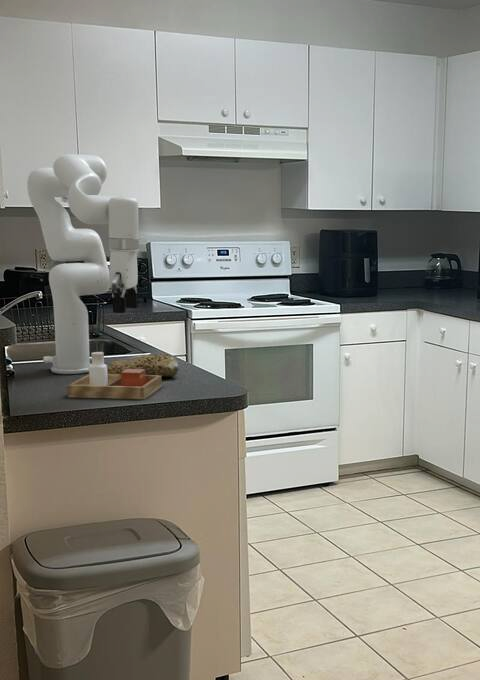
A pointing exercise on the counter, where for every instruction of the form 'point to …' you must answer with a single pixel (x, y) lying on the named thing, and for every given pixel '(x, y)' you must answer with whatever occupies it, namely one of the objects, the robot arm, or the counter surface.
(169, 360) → the sponge
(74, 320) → the robot arm
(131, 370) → the clay block
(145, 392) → the tray
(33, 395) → the counter surface
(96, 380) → the salt shaker
